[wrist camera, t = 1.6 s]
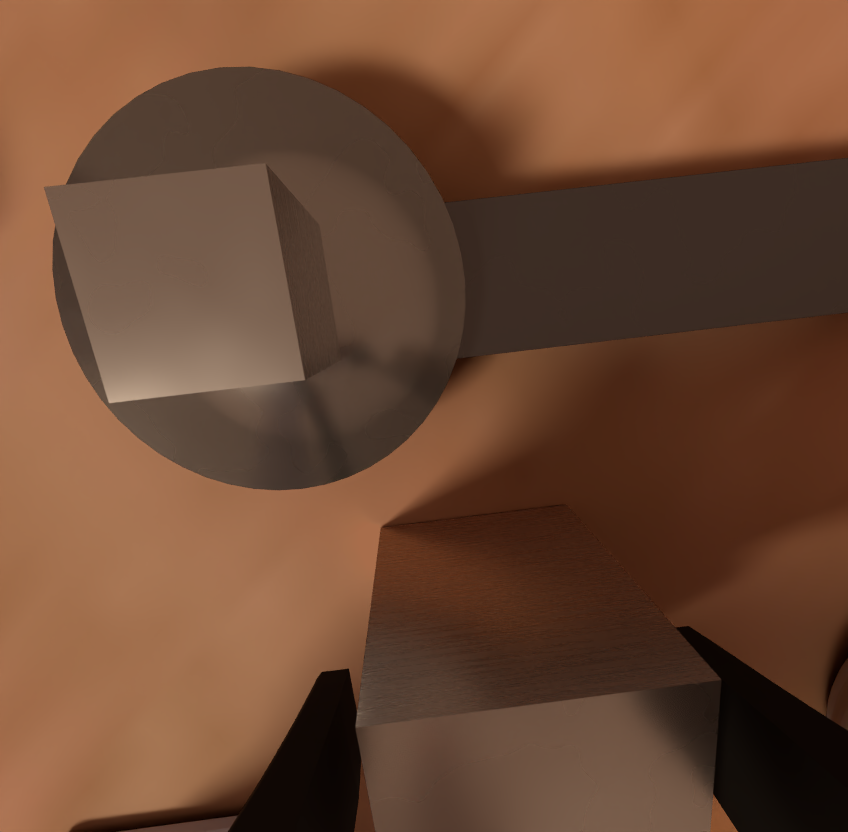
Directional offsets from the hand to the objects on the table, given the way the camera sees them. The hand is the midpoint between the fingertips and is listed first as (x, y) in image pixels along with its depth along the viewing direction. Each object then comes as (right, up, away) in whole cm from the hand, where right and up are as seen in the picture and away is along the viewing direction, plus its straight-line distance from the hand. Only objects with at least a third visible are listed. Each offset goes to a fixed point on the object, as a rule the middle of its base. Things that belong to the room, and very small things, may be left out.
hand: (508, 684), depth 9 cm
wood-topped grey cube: (0, +1, +3) cm, 3 cm away
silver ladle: (0, +9, +1) cm, 10 cm away
